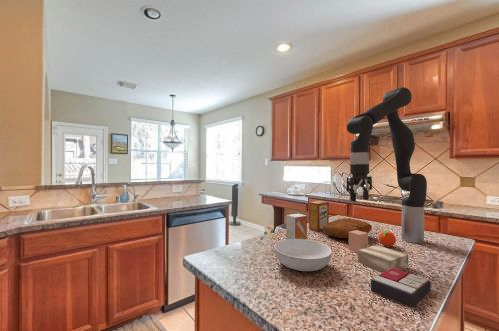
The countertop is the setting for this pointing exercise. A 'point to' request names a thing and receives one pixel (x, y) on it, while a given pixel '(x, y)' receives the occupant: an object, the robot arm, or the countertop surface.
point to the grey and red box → (401, 287)
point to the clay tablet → (345, 227)
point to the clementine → (387, 238)
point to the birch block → (382, 258)
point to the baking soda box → (318, 215)
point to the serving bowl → (302, 254)
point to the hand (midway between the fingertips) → (359, 200)
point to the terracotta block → (358, 240)
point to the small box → (296, 226)
